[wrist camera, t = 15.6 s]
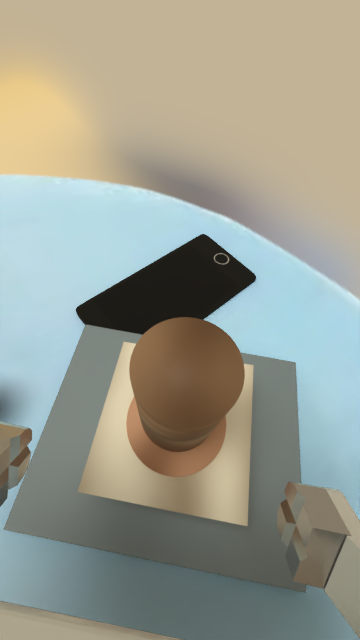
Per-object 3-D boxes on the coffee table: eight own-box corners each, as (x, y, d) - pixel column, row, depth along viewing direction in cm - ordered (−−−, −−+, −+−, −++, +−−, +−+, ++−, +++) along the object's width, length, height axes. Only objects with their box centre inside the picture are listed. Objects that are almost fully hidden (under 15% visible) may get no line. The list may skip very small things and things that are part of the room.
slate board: (8, 528, 20) (3, 529, 19) (87, 328, 28) (85, 324, 27) (300, 589, 19) (305, 592, 18) (292, 365, 27) (295, 362, 27)
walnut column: (131, 443, 18) (114, 413, 11) (149, 370, 21) (144, 309, 14) (210, 458, 18) (241, 437, 11) (218, 382, 20) (247, 327, 14)
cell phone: (255, 281, 33) (258, 276, 32) (126, 377, 26) (125, 374, 25) (203, 238, 36) (204, 232, 35) (75, 313, 29) (73, 308, 28)
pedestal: (91, 492, 20) (76, 492, 17) (128, 362, 25) (123, 340, 22) (231, 520, 20) (248, 526, 16) (240, 383, 25) (254, 364, 21)
